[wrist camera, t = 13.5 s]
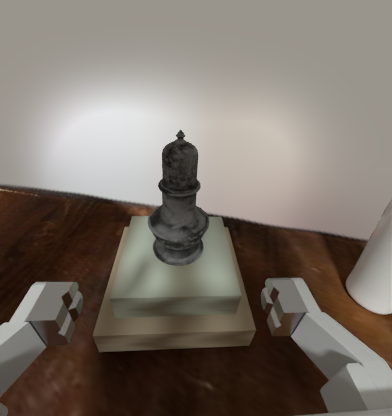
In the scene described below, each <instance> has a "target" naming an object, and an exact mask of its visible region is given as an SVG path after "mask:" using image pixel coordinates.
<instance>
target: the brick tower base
mask: <svg viewBox="0 0 392 416" xmlns="http://www.w3.org/2000/svg"><path fill="white" fill-rule="evenodd" d="M148 217H149V216H132V218H131V222H130V226H129V227H125V228H124V232H123V235H122V238H121V242H120V245H119V249H118V252H117V255H116V259H115V262H114V265H113V269H112V272H111V275H110V279H109V282H108V285H107V289H106V292H105V295H104V299H103V302H102V306H101V309H100V312H99V316H98V319H97V322H96V326H95V329H94V332H93V339H94V341H95V343H96V346H97V348H98V350H99V352H113V351H137V350H160V349H184V348H207V347H230V346H249V345H250V343H251V341H252V339H253V336H254V334H255V332H256V328H255V324H254V321H253V317H252V313H251V310H250V306H249V303H248V299H247V295H246V292H245V288H244V284H243V281H242V277H241V273H240V270H239V266H238V263H237V259H236V255H235V252H234V248H233V244H232V241H231V237H230V233H229V230H228V227H224V224H223V220H222V217H209V227H208V229H207V231H206V232H205V233H204V235H203V237H202V238H201V240H202V242H203V246H204V248H203V253H202V254H201V256H200V257H199V258H198V259H197V260H196V261H195V262H193V263H191V264H188V265H183V266H173V265H168V264H166V263H163V262H162V261H160V260H159V259H158V258H157V257H156V256H155V254H154V251H153V243H154V241H155V239H156V238H155V237H154V235H153V233H152V231H151V230H150V229H149V226H148Z"/></svg>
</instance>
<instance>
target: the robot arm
mask: <svg viewBox="0 0 392 416" xmlns="http://www.w3.org/2000/svg"><path fill="white" fill-rule="evenodd" d="M265 285H266V287H265V288H264V289H262V292H261V303H262V307H263V310H264V312H265V313H267V314H268V315H269V316H268V319H267V323H268V326H269V329H270V332H271V335H272V336H291V338H292V339H293V340H294V341H295V342H296V343H297V344H298V346H299V347H300V348H301V349H302V350H303V351H304V352H305V353H306V355H307V356H308V357H309V358H310V359H311V360H312V361H313V363H314V364H315V365H316V366H317V367H318V368H319V369H320V370H321V372H322V373H323V374H324V375H325V376H326V377H327V378H328V380H329V381H328V382H327V383H326V384H325V385H324V386H323V387H322V388H321V390H320V392H321V395H322V397H323V400H324V402H325V405H326V407H327V410H328V412H329V413H322V414H308V415H295V416H392V371H391V369H390V368H389V366H388V365H387V363H386V362H385V360H383V359H382V358H381V357H380V356H378V355H377V354H376V353H375V352H374V351H372V350H371V349H370V348H369V347H367V346H366V345H365V344H364V343H362V342H361V341H360V340H359V339H357V338H356V337H355V336H354V335H352V334H351V333H350V332H349V331H347V330H346V329H345V328H344V327H342V326H341V325H340V324H339V323H337V322H336V321H335V320H334V319H332V318H331V317H330V316H329V315H327V314H326V313H325V312H321V311H320V309H319V307H318V305H317V303H316V301H315V300H314V298H313V296H312V294H311V292H310V291H309V289H308V287H307V285H306V283H305V282H304V280H303V279H302V278H268V279H267V280H266V282H265ZM78 287H79V286H78V284H77V282H35V283H34V284H33V285H32V286H31V287H30V289H29V291H28V292H27V294H26V295H25V297H24V299H23V300H22V302H21V304H20V305H19V307H18V308H17V310H16V312H15V313H14V315H13V316H12V318H11V320H10V321H9V322H5V323H3V324H2V325H1V326H0V397H1V396H2V395H3V393H4V392H5V391H6V390H7V389H8V388H9V387H10V386H11V385H12V384H13V383H14V382H15V381H16V379H17V378H18V377H19V376H20V375H21V374H22V373H23V372H24V371H25V370H26V369H27V368H28V366H29V365H30V364H31V363H32V362H33V361H34V360H35V359H36V358H37V357H38V356H39V355H40V353H41V352H42V351H43V350H44V349H45V348H46V346H51V345H65V344H69V343H70V340H71V338H72V335H73V332H74V330H75V324H74V321H75V320H76V319H77V318H78V317H79V316H80V313H81V310H82V305H83V297H82V294H81V293H80V292H78V291H77V290H78ZM7 414H8V409H7V407H6V406H4V405H3V404H1V403H0V416H7Z"/></svg>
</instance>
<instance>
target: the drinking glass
mask: <svg viewBox="0 0 392 416" xmlns="http://www.w3.org/2000/svg"><path fill="white" fill-rule="evenodd" d="M346 288H347V291H348V293H349V294H350V296H351V297H352V298H353V299H354V300H355V301H356V302H357V303H358V304H359V305H361V306H362V307H364V308H365V309H367V310H369V311H371V312H374V313H378V314H391V313H392V200H391V201H390V203H389V204H388V206H387V207H386V209H385V211H384V212H383V214H382V216H381V218H380V220H379V221H378V223H377V225H376V227H375V229H374V231H373V233H372V235H371V237H370V239H369V241H368V242H367V244H366V246H365V248H364V250H363V252H362V254H361V256H360V257H359V259H358V261H357V263H356V265H355V267H354V268H353V270H352V271H351V273H350V274H349V276H348V277H347V279H346Z"/></svg>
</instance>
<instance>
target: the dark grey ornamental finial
mask: <svg viewBox="0 0 392 416" xmlns="http://www.w3.org/2000/svg"><path fill="white" fill-rule="evenodd" d="M176 136H177V137H178V139H177V140H175V141H174V142H171V143H169V144H168V145H166V146H165V148H164V149H163V152H162V168H163V179H162V180H161V181H160V182H159V185H158V187H159V189H160V190H161V191H162V198H163V204H162V205H161V206H159V207H157V208H156V209H155V210H154V211H152V212H151V214H150V215H149V217H148V226H149V229H150V230H151V231H152V233H153V235H154V237H155V238H156V239H155V241H154V243H153V251H154V254H155V256H156V257H157V258H158V259H159V260H160V261H162V262H163V263H166V264H168V265H173V266H183V265H188V264H191V263H193V262H195V261H196V260H197V259H198V258H199V257H200V256H201V254H202V253H203V248H204V246H203V242H202V240H201V238H202V237H203V235H204V233H205V232H206V231H207V229H208V227H209V217H208V215H207V214H206V212H204V211H203V210H202V209H201V208H199V207H197V206H196V192H198V190H199V189H200V183H199V181H198V180H197V164H198V152H197V149H196V148H195V146H194V145H192V144H191V143H189V142H186V141H185V140H184V139H183V138H184V137H185V135H184V133H183V132H182V131H181V130H180V131H179V132H178V134H177V135H176Z"/></svg>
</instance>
